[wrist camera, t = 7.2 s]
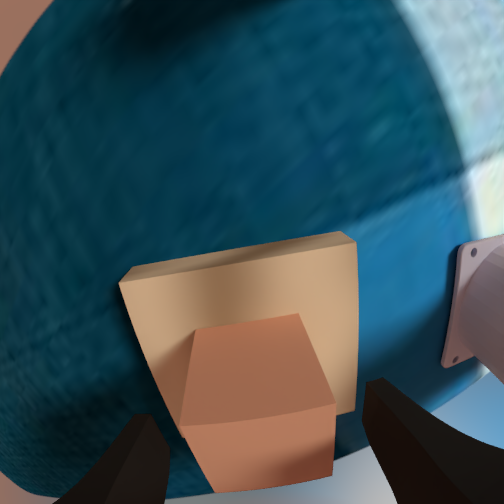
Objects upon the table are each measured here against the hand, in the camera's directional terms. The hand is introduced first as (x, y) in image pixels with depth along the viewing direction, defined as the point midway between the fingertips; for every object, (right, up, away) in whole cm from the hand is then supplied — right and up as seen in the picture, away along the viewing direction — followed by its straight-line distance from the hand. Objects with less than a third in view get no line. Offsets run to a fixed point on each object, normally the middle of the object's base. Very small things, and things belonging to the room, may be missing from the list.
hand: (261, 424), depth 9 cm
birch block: (0, +2, +6) cm, 6 cm away
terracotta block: (0, +1, +3) cm, 3 cm away
